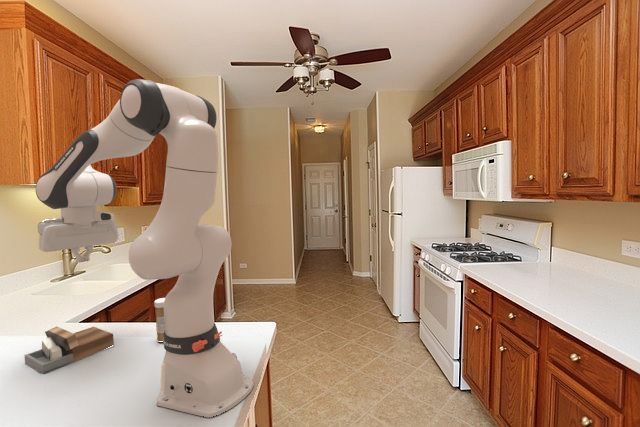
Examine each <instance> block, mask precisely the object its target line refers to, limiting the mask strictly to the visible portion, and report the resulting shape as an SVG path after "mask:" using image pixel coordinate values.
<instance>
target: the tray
mask: <svg viewBox="0 0 640 427" xmlns="http://www.w3.org/2000/svg"><path fill="white" fill-rule="evenodd" d="M60 349H61V352H62V357H60V358H58V359H55V360H53V361H50V358H49V359H48V357H47V356H46V354H45V353H44V352H43V350H42V348H41V349H38V350H35V351H33V352H30V353H26V354H24V364H25V365H27V366H28V367H31V368H32V369H34V370H35V371H37V372H39V373H41V374H42V375H45V374H48V373H50V372H53V371H55V370H57V369H60V368H63V367H66V366H68V365H70V364H72V363H75V362H74V361H73V354H72V353H70V352H68V351H66V350H64V349H62V348H60Z"/></svg>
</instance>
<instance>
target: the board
mask: <svg viewBox="0 0 640 427" xmlns="http://www.w3.org/2000/svg"><path fill="white" fill-rule="evenodd" d="M73 333H74V334H75V335H76V338H77V340H78V343H79V345H78V346H76V347H74V348H72V349H70V350H69V351H68V352H70V353H72V354H73V361H74V362H73V363H76V362H78V361H81V360H83V359H85V358H88V357H90V356H92V355H96V354H98V353H100V351H101V352H103V351H105V350H104V349H106V348H108V347H110V346H112V345H114V346H115V343H114V342H115V341H114V333H113V332H109V331H107V330H104V329H102V328H98V327H95V326H91V327H89V328H86V329H82V330H80V331H75V332H73ZM108 349H109V348H108ZM102 350H103V351H102ZM106 350H107V349H106ZM97 352H98V353H97ZM95 353H96V354H95Z"/></svg>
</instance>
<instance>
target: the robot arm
mask: <svg viewBox="0 0 640 427" xmlns="http://www.w3.org/2000/svg"><path fill="white" fill-rule="evenodd" d="M216 125H217V112H216V109H215V106H214V105H213V104H212V103H211V102H210V101H208V100H206V98H204V97H202V96H200V95H195V94H192V93H190V92H188V91H185V90H182V89H181V88H179V87H176V86H173V85H169V84H164V83H159V82H155V81H153V80H149V79H141V78H137V79H132V80H130V81H128V82H126V85H125V86H124V87H123V88H122V91H121V94H120V98H118V101H117V102H116V104H114V106H113V108H112V110H111V112H109V114H108V115H107V117H106V118H105V119H104V120H102V122H100V123H98V124H97V125H95V126H94V127H92V128H90V129H88V130H86V131H84V132H82V133H80V134H79V136H77V137H76V138H75V139H74V140H73V142H72V143H71V144H70V145H69V146H68V147H67V149H66V150H65V151H64V152H63V153H62V155H61V156H60V157H59V158H58V159H57V161H56V162H55V163H54V164H53V166H51V167H50V168H49V169H47V170H46V171H45V172H44V173H42V174H41V175H40V176H39V178H37V181H36V184H35V194H36V197H37V199H38V200H39V201H40V202H41V203H42V204H44V205H45V206H47V207H48V208H50V209H52V210H59V209H60V217H56V218H45V219H43V220H41V221H40V222H38V224H37V233H38V234H39V237H38V249H39V250H40V251H41V252H43V253H50V252H57V251H64V250H65V251H66V250H70V252H71V253H72V254H73V255H74V257H75V261H76V263H79V264H80V263H83V262H89V261H90V260H91V259H90V255H91V253H92V252H93V250H94V246H101V245H108V244H114V243H117V242H118V240H119V232H118V230H119V229H118V226H117V223H116V222H115V221H114V219H115V214H114V213H111V212H106V211H104V210H99V209H97V207H98V206H105V205H109V204H111V203H112V202H113V201H114V200H115V199H116V197H117V194H118V186H117V183H116V181H115V179H114V177H112V176H111V175H110V174H107V173H103V172H100V171H99V170H96V169H94V168H93V166H92V164H94V163H97V162H100V161H105V160H110V159H119V158H128V157H129V158H130V157H133V156H134V157H135V156H137V155H140V154H141V153H142V152H144V151H145V150H147V148H148V147H150V145H151V143H152V142H153V141H154V139H155V137H156V136H158V135H159V134H160V135H161V136H162V137H163V138H164V139H165V141H166V144H167V155H166V162H165V163H166V164H165V165H166V166H165V175H164V176H165V177H164V187H163V192H162V193H163V194H162V199H161V203H160V206H159V208H158V210H157V213H156V214H155V216H154V218H153V220H152V221H151V222H150V224H149V225H148V227H147V228H146V229H145V230H144V231H143V232H142V233H141V234H140V235H138V236H137V237H136V238H134V240H133V241H132V243H131V244H130V247H129V249H128V261H129V265H130V268H131V270H132V271H133V272H134V274H135V275H137V277H139V278H140V279H142V280H146V281H149V280H153V281H154V280H165V279H170V278H174V277H177V276H178V278H177V281H176V283H175V285H174V286H173V287H172V289H171V290H170V291H168V293H167V294H166V295H165V297H164V298H165V300H164V320H165V331H164V337H163V343H162V344H163V348H164V350H165V352H164V358H163V360H162V364H161V370H160V393H159V395H158V396H157V398H156V405H157V406H159V407H162V408H167V409H171V410H174V411H179V412H183V413H186V414H191V415H195V416H200V417H203V416H204V417H205V418H209V417H210V418H213V416H214V417H216V415H217V416H220V415H222V414H223V412H224V413H226V412H227V411H229V410H230V409H232V408H233V407H235V406H236V405H239V403H241V402H242V400H244V399H245V398H247V396H248V395H249V394H250V393H251V392H252V390H253V388H254V381H253V379H250V378H249V377H247V376H246V375H245V374H244V373H243V368H242V365H241V362H240V361H239V360H238V356H237V354H236V353H235V352H231V351H230V350H229V349H228V347H226V346H225V344H224V343H223V342H222V341H221V337H222V336H223V331H219V330H218V328H217V325H216V323H215V321H214V320H215V319H214V318H215V317H214V293H215V285H216V282H217V280H218V279H217V278H218V277H219V276H218V275H219V273H220V269H221V268H222V265H223V264H224V262H225V261H226V259H227V258H228V257H229V256H230V254H231V251H232V246H233V245H232V243H233V241H232V238H231V234H230V233H229V231H228V230H227V229H226V228H225V227H223V226H220V225H216V224H210V223H209V224H208V223H201V224H200V223H199V222H200V220H201V219H202V218H203V216H204V215H205V214H206V213H207V212H208V211H209V210H211V208H212V207H213V206H214V204H215V200H216V192H217V191H216V190H217V179H218V178H217V177H218V167H219V147H218V144H219V143H218V135H217V132H216V130H215V128H216ZM80 248H84V250H85V252H84V255H83V254H82V255H81V254H80V253H79V252H80ZM225 411H226V412H225ZM221 413H222V414H221ZM204 417H203V418H204ZM210 418H209V419H210Z"/></svg>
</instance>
